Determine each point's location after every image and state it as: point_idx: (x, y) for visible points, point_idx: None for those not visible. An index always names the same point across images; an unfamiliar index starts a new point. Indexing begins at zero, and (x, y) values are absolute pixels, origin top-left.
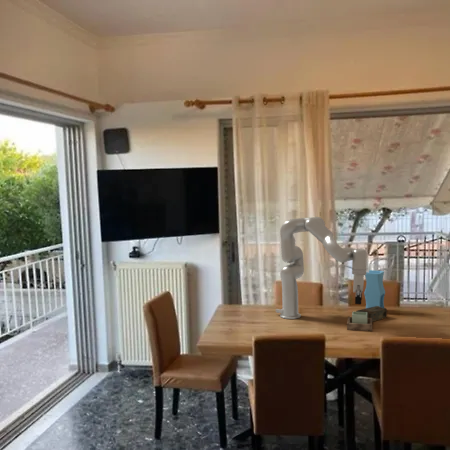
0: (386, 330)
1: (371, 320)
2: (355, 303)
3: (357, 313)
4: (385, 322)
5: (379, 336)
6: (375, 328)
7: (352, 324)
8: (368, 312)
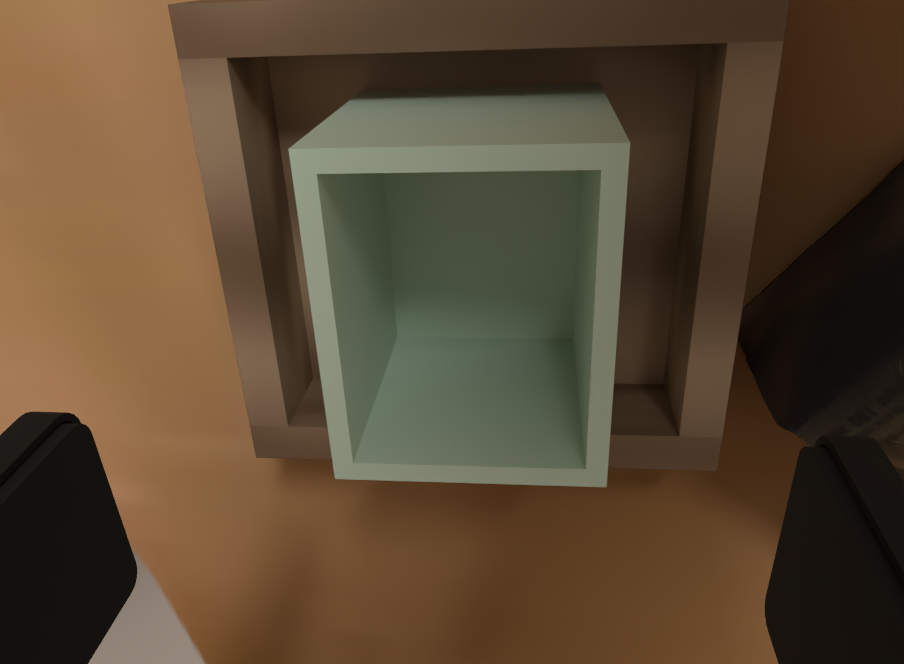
0: (399, 556)
1: None
2: (30, 427)
3: (594, 264)
4: None
5: None
6: None
7: (197, 126)
8: None
